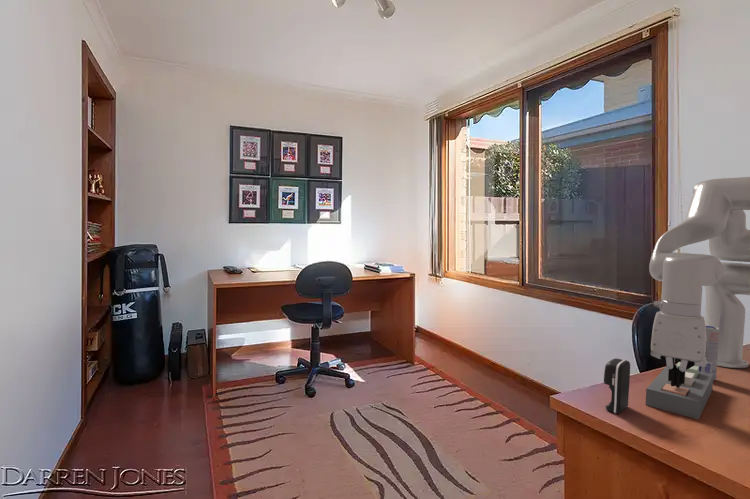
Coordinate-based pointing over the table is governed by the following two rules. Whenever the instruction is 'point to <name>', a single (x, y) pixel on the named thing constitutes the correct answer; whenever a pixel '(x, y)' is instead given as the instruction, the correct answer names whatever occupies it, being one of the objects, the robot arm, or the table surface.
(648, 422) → the table surface
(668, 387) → the terracotta button
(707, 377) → the frame
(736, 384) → the table surface
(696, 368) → the sage button
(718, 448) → the table surface
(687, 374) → the cream button
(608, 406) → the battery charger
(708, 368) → the beverage can
